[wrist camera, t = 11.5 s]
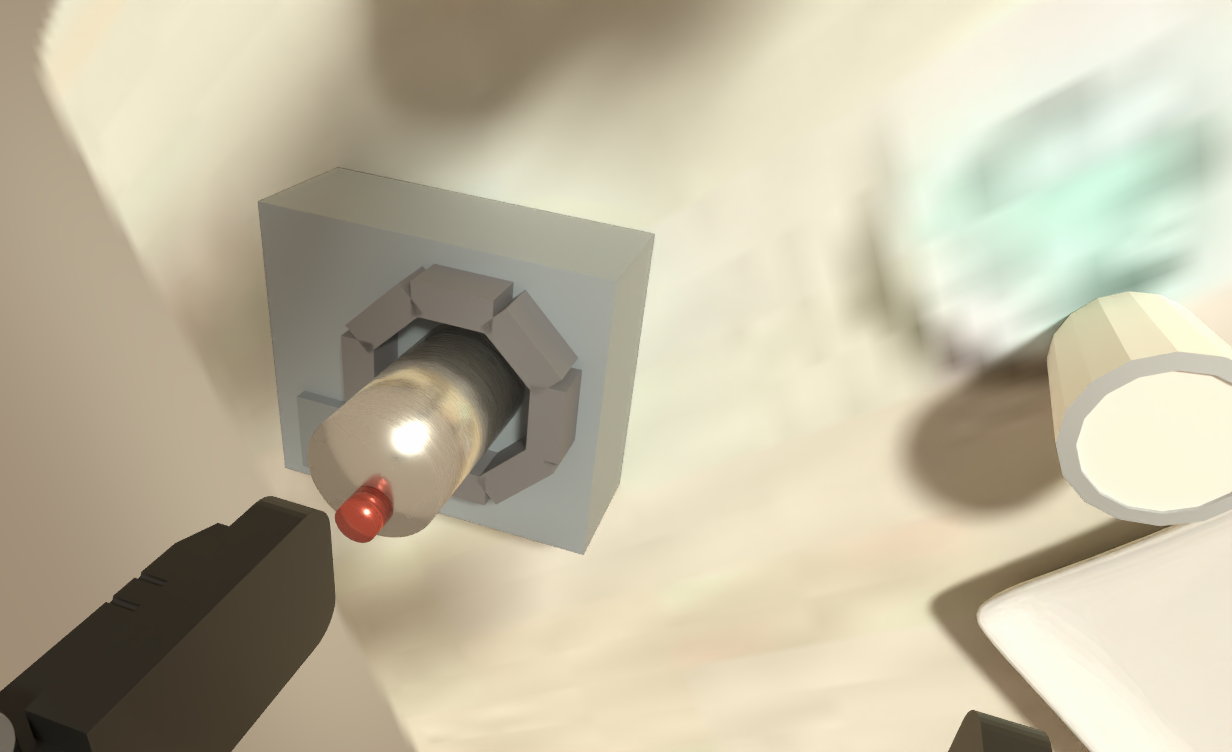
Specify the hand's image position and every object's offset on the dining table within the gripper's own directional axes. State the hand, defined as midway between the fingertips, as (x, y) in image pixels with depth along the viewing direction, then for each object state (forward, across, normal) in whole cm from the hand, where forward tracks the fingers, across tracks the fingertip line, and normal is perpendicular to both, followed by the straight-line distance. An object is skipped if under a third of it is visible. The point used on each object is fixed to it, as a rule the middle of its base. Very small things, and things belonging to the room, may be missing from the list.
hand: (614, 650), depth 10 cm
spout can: (+22, +12, +11) cm, 27 cm away
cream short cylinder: (+28, -14, +6) cm, 32 cm away
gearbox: (+28, +14, +14) cm, 34 cm away
